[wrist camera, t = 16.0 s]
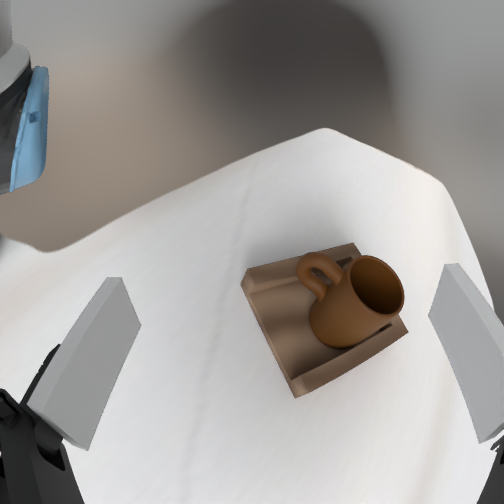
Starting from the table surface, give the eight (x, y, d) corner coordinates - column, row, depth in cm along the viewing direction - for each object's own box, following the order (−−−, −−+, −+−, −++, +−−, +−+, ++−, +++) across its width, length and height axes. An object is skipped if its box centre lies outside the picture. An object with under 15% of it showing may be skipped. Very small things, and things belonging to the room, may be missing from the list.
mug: (264, 318, 32) (296, 274, 25) (286, 270, 37) (317, 222, 30) (352, 361, 32) (403, 330, 25) (364, 311, 37) (407, 274, 29)
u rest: (240, 284, 36) (247, 268, 33) (341, 256, 43) (353, 242, 40) (295, 398, 29) (308, 392, 26) (392, 342, 36) (408, 332, 33)
